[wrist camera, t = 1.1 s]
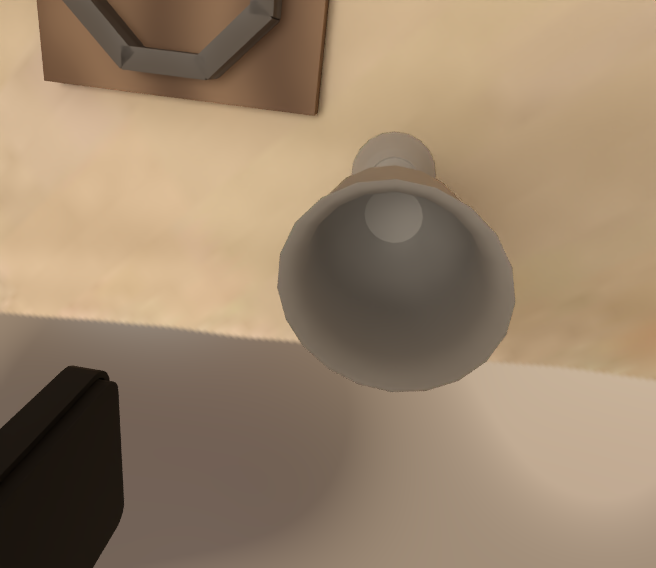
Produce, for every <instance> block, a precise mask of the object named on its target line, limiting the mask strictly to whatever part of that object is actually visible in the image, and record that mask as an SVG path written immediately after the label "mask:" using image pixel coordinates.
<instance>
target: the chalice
mask: <svg viewBox="0 0 656 568" xmlns="http://www.w3.org/2000/svg"><path fill="white" fill-rule="evenodd" d="M435 176H436V174H435V163H434V160H433V158H432V156H431V154H430V151H429V150H428V149H427V148H426V146H425V145H424V144H423V143H422V142H421V141H420V140H418V139H416V138H415V137H413V136H411V135H409V134H405V133H399V132H390V133H383V134H380V135H378V136H376V137H374V138H372V139H370V140H369V141H368V142H367V143H366V144H365V145H364V146H363V147H362V148H361V149H360V150H359V152H358V154H357V156H356V158H355V160H354V163H353V169H352V176H349V177H347V178H346V179H344V180H343V181H342V182H341V183H340V184H339V185H338V186H337V187H336V188H335V189H334V190H333V191H332V192H331V193H330V194H329V195H327V196H325V197H322V198H321V199H320V200H319V201H318V202H317V203H316V204H314V205H313V206H312V207H311V208H310V209H309V210H308V211H307V212H306V213H305V214H304V215H303V216H302V217H301V218H300V219H299V220H297V221H296V222H295V224H294V226H293V228H292V230H291V232H290V234H289V236H288V239H287V241H286V243H285V245H284V247H283V249H282V251H281V253H280V261H279V273H278V286H277V288H278V291H279V295H280V299H281V303H282V306H283V310H284V314H285V318H286V320H287V322H288V323H289V325H290V326H291V328H292V329H293V331H294V333H295V334H296V336H297V337H298V339H299V340H300V342H301V344H302V345H303V347H304V348H306V349H307V350H308V351H309V352H310V353H311V354H312V355H313V356H315V357H316V358H317V359H318V360H319V361H320V362H321V363H322V364H323V365H324V366H326V367H327V368H328V369H329V370H331V371H333V372H336V373H337V374H340V375H341V376H343V377H345V378H347V379H349V380H351V381H353V382H355V383H357V384H360V385H364V386H368V387H372V388H377V389H381V390H386V391H390V392H404V391H427V390H430V389H433V388H436V387H440V386H443V385H446V384H450V383H452V382H456V381H459V380H460V379H462V378H463V377H465V376H466V375H467V374H469V373H470V372H472V371H473V370H475V369H476V368H478V367H479V366H481V365H482V364H483V363H485V362H486V361H487V360H488V359H489V357H490V356H491V354H492V353H493V352H494V350H495V349H496V348H497V346H498V345H499V344H500V342H501V341H502V339H503V338H504V337H505V335H506V333H507V330H508V326H509V323H510V319H511V316H512V312H513V308H514V305H515V293H514V282H513V271H512V266H511V264H510V262H509V260H508V257H507V255H506V253H505V251H504V249H503V247H502V245H501V242H500V240H499V238H498V236H497V234H496V233H495V232H494V231H493V230H492V229H491V228H490V227H489V226H488V225H487V224H486V223H485V222H484V221H483V220H482V219H481V217H480V216H479V215H478V214H477V213H476V212H475V211H474V210H473V209H472V208H471V207H470V206H468V205H466V204H464V203H462V202H461V201H460V200H459V199H458V198H457V197H456V196H455V195H454V194H453V193H452V192H451V191H450V190H449V189H448V188H447V186H446V185H445V184H444V183H442V182H440V181H438V180H436V179H435Z"/></svg>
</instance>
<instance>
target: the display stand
mask: <svg viewBox="0 0 656 568" xmlns="http://www.w3.org/2000/svg"><path fill="white" fill-rule="evenodd" d="M328 4H329V0H37V8H38V19H39V29H40V40H41V50H42V61H43V71H44V81H52V82H60V83H67V84H75V85H83V86H90V87H98V88H106V89H113V90H121V91H129V92H136V93H144V94H152V95H159V96H167V97H175V98H182V99H190V100H198V101H205V102H213V103H221V104H228V105H236V106H244V107H251V108H259V109H267V110H274V111H282V112H290V113H297V114H305V115H313V116H314V115H316V114H317V113H318V104H319V94H320V84H321V74H322V64H323V54H324V44H325V34H326V24H327V14H328Z"/></svg>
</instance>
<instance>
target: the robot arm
mask: <svg viewBox="0 0 656 568" xmlns="http://www.w3.org/2000/svg"><path fill="white" fill-rule="evenodd" d="M121 455H122V454H121V434H120V415H119V395H118V386H117V384H116V383H115V382H112V381H109V376H108V374H107V373H106V372H105V371H101V370H95V369H89V368H83V367H77V366H68V367H67V368H65V369H64V370H63V371H61V372H60V373H59V374H58V375H57V376H56V377H55V378H54V379H53V380H52V381H51V382H50V383H49V384H48V385H47V386H46V387H44V388H43V389H42V390H41V391H40V392H39V393H38V394H37V395H36V396H35V397H34V398H33V399H32V400H31V401H30V402H28V403H27V404H26V405H25V406H24V407H23V408H22V409H21V410H20V411H19V412H18V413H17V414H16V415H15V416H14V417H12V418H11V419H10V420H9V421H8V422H7V423H6V424H5V425H4V426H3V427H2V428H1V429H0V568H93V567H94V565H95V563H96V561H97V560H98V558H99V556H100V554H101V553H102V551H103V550H104V548H105V546H106V545H107V543H108V541H109V539H110V538H111V536H112V535H113V533H114V531H115V530H116V528H117V526H118V524H119V522H120V519H121V516H122V513H123V508H124V495H123V494H124V493H123V474H122V456H121Z"/></svg>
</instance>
